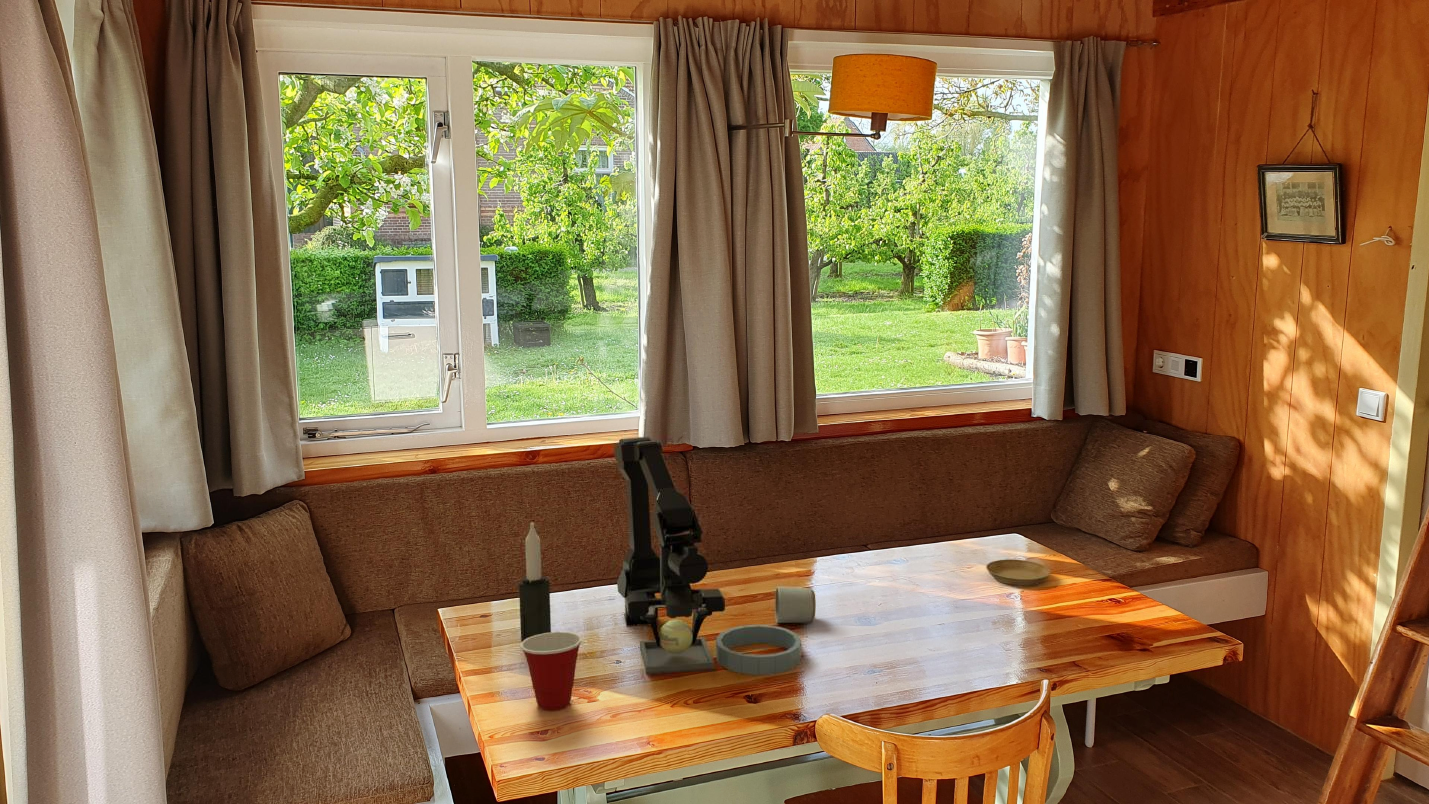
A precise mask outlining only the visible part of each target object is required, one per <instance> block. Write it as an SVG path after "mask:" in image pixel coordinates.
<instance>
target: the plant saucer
mask: <svg viewBox="0 0 1429 804" xmlns="http://www.w3.org/2000/svg"><path fill="white" fill-rule="evenodd" d="M985 567H986V570H987V572H988V573H989V574H990V576H992V577H993V578H994V580H996V581H997V582H1000V583H1002V584H1005V585H1008V586H1009V585H1010V586H1016V587H1030V586H1036V585H1039V584H1041V583H1042V582H1044V581H1045V580H1046V579H1047V578H1048V577H1049V576H1050V575H1051V573H1052V572H1051V570H1050V568H1048V567H1047V566H1046V565H1043V564H1041V563H1038V562H1035V561H1031V560H1023V559H1009V558H1008V559H998V560H994V561H990V562H989V563H987V564H986V566H985Z"/></svg>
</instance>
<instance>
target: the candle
mask: <svg viewBox="0 0 1429 804" xmlns="http://www.w3.org/2000/svg"><path fill="white" fill-rule="evenodd" d="M529 526H530V527H529V530H528V531H529V532H528V534H527V536H526V537H525V540H524V541H525V542H524V543H525V545H524V546H525V568H526V575H525V576H523V577H522V580H521V581H520V582H519V583H518V594H519V595H518V598H519V618H520V643H521V642H523V641H524V640H525V639H527V638H530V637H532V636H535V635H539V634H544V633H551V632H552V622H551V620H552V619H551V617H552V616H551V592H550V578H547V577H546V576H545V575H543V574H542V558H541V538H540V537H539V535H538V533H537V530H536V528H535V523H534V522H533V521H532V522H530V524H529Z"/></svg>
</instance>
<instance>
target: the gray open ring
mask: <svg viewBox="0 0 1429 804" xmlns="http://www.w3.org/2000/svg"><path fill="white" fill-rule="evenodd" d="M746 644H747V645H748V644H769V645H775V646H778V647H782V648H785V649H787V650H785V651H780V652H777V653H776V652H775V653H770V654H769V653H768V654H752V653H751V654H750V653H742V652H738V651H735V650H732V649H731V648H733V647H738V646H742V645H746ZM715 658H716V660H717V663H718V664H719V665H720V666H722V667H724V668H725V669H726V670H729V671H733V672H735V673H736V672H737V673H739V674H748V675H756V676H761V675H764V676H765V675H775V674H780V673H783V672H787V671H791V670H792V669H793V668H795V667H797V666H799V664H800V662H801V659H802V639H801V637H800V635H799V634H797V633H796V632H794V631H792V630H790V629H788V628H785V627H780V626H776V625H768V624H767V625H766V624H749V625H747V624H746V625H740V626H735V627H730V628H728V629H726V630H724V631H722V632H720V633H719V634H718V635H717V637H716V638H715Z"/></svg>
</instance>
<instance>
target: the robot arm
mask: <svg viewBox="0 0 1429 804" xmlns="http://www.w3.org/2000/svg"><path fill="white" fill-rule="evenodd" d="M613 451H614V453H613V455H614V459H615V461H616V462H617V463H616V464H617V469H618V470H619V472H621V474H622V476H623V477H624V479H625V483H626V484H625V486H626V502H627V519H628V521H627V522H628V535H629V537H628V539H629V548H628V550H627V553H626V554H625V556H624V558H623V560H622V570H621V571H620V574H619V576H618V578H617V582H616V585H617V586H616V587H617V592H618V594H620V595H621V596H622V598H624V613H623V617H624V622H625V625H626V626H628V627H629V626H645V625H649V626H650V628H651V631H652V634H653V636H654V637H653V638H654V640H656V643H657V646H660V639H659V634H660V631H659V626H658V620H657V619H658V618H659V609H665V610H666V616H667V617H668V618H670V619H676V618H681V617H683V618H684V617H685V618H690V617H692V623H691V630H692V635H693V639H692V644H695V641H696V639H697V637H698V635H699V633H700V629H701V627H702V625H703V622H705V619H707V617H708V616H709V617H711V616H713V613H717V612H724V611H725V610H726V600H725V596H724V594H723V593H722V591H721V590H720V588H711V589H710V588H709V589H707V588H706V589H701V588H697V589H694V588H692V587H691V585H694V584H698V583H700V582H702V580H703V579H705V577H706V575H707V573H708V570H709V564H708V562H707V560H706V558H705V557H704V556H703V555H702V554H700V553H699V552H698V551H699V548H698V547H697V546H696V545H695V544H696V543H702V542H703V539H702V534H703V531H702V528H701V524H700V521H699V519H698V515H697V513H696V512H695V509H694V508H693V507H692V505H691V503H690V502H689V499H688V498H687V496H685V495H683V494H682V493H680V492H679V491H678V490H677V488H676V486H675V483H674V480H673V478H672V476H671V473H670V471H669V468H668V466H667V463H666V460H665V457H664V456H663V448H662V443H661V442H660V441H659V440H651V437H650V436H642V437H639V436H638V437H630V438H629V437H628V438H619V440H618V443H616V444H615V445H614V449H613ZM650 494H651V496H652V499H653V501H654V508H653V512H652V523H653V524H651V508H650ZM651 525H653V529H654V530H655V533H656V537H657V539H658V541H659V556H658V554H657V553H656V552H655V549H653V545H652V528H651V527H652V526H651ZM690 532H691V533H690ZM656 594H660V597H657V596H656Z"/></svg>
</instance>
